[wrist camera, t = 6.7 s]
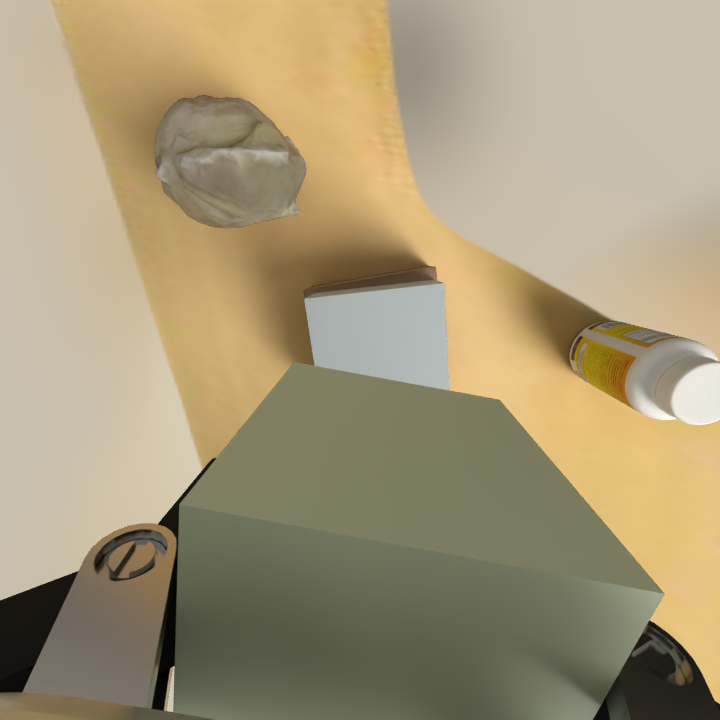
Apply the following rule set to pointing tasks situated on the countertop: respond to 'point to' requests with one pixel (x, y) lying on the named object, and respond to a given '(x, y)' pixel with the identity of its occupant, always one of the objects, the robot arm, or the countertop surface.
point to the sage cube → (396, 565)
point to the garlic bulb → (227, 162)
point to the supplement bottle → (650, 371)
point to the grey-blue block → (382, 332)
